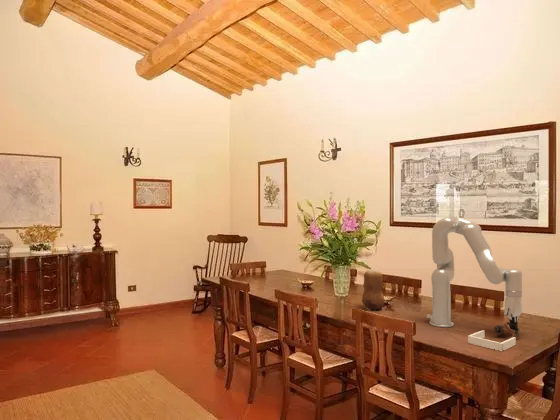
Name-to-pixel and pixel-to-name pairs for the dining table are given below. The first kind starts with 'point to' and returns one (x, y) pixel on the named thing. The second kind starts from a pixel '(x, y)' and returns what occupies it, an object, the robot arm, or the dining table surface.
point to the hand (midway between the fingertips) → (513, 329)
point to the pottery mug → (501, 327)
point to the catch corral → (478, 340)
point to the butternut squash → (373, 290)
